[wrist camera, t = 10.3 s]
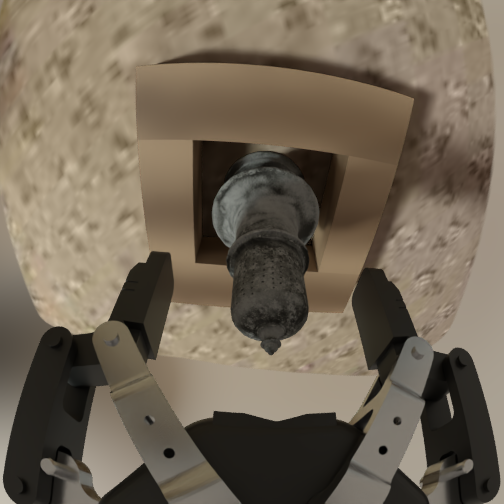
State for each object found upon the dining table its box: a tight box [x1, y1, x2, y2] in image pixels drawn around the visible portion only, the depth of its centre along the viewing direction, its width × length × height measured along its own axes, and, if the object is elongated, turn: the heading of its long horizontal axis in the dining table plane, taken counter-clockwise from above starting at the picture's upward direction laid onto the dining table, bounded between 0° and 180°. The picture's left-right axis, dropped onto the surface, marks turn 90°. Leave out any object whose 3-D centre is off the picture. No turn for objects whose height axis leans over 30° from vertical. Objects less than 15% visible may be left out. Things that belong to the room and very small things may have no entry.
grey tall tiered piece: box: [212, 151, 320, 355], centre depth 14 cm, size 6×6×12 cm
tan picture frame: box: [136, 63, 414, 313], centre depth 17 cm, size 16×14×3 cm
